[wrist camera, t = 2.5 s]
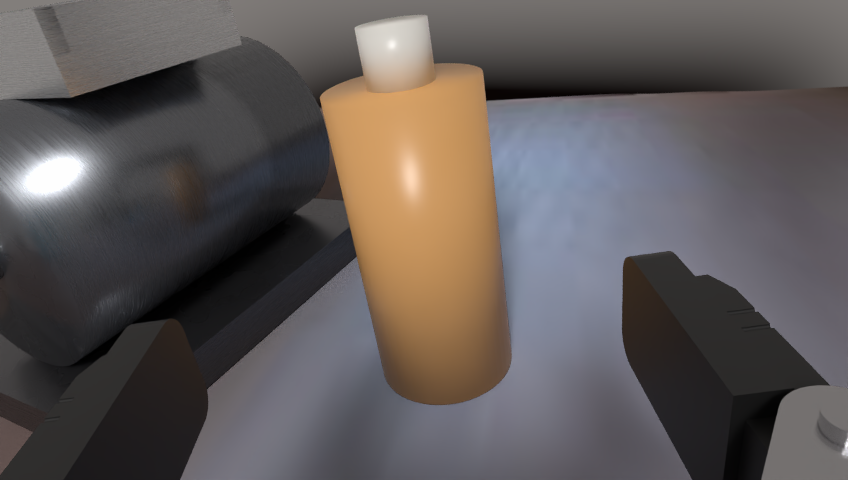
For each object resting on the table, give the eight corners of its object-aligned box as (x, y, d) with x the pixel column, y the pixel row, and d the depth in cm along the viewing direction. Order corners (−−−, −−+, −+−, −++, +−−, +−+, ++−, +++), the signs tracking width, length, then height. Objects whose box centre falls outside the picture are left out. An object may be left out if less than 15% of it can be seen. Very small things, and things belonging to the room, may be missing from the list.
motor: (238, 215, 44) (162, -16, 36) (383, 231, 37) (326, -44, 30) (-94, 421, 27) (-358, 75, 20) (66, 513, 21) (-234, 57, 14)
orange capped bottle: (421, 312, 29) (366, 13, 22) (529, 332, 26) (502, -1, 20) (359, 386, 25) (269, 45, 18) (480, 419, 22) (425, 33, 15)
